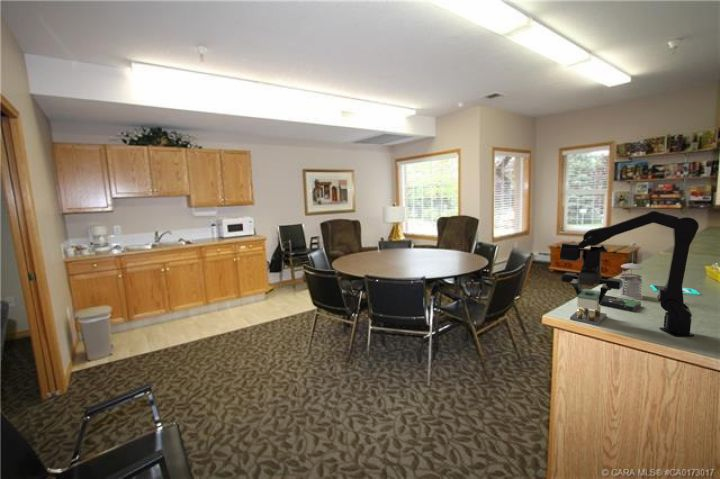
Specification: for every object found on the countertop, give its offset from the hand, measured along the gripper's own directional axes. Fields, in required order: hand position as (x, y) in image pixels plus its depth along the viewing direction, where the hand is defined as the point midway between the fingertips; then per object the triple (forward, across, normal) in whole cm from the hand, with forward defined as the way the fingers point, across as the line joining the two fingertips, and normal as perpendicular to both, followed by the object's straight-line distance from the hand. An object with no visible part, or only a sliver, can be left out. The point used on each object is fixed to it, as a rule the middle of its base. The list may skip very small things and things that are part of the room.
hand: (589, 302), depth 129 cm
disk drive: (+7, +4, +24) cm, 26 cm away
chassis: (+6, 0, 0) cm, 6 cm away
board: (+1, 0, 0) cm, 1 cm away
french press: (+7, +6, +42) cm, 43 cm away
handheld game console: (+7, +19, +66) cm, 69 cm away
